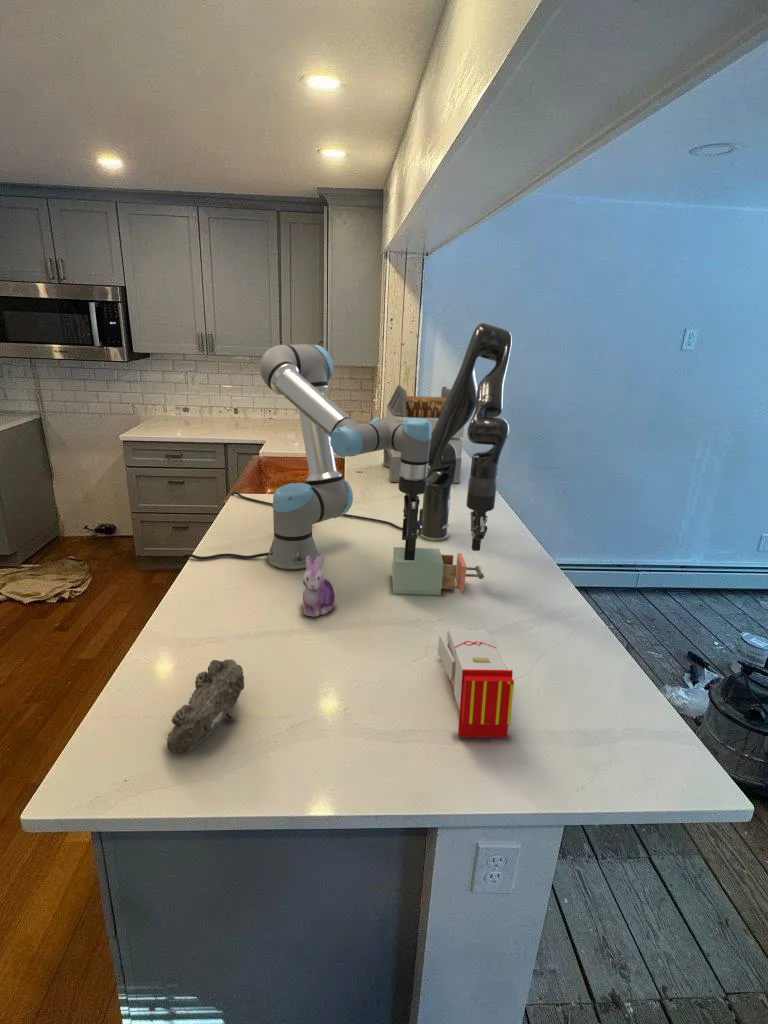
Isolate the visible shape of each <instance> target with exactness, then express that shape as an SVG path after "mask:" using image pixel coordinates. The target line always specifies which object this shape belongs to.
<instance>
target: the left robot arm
mask: <svg viewBox="0 0 768 1024" xmlns="http://www.w3.org/2000/svg"><path fill="white" fill-rule="evenodd" d="M259 370H260V376H261V377H262V381H263V382H264V383H265V385H266V386H267V387H268V388H269V389H270V390H272V392H273V393H275V394H276V395H280V396H281V395H282V396H283V397H284V398H285V399H287V400H288V401H289V402H290V403H291V404H292V405H293V406H295V408H297V410H298V413H299V418H300V420H299V421H300V426H301V431H302V438H303V443H304V449H305V455H306V462H307V467H308V476H307V477H306V478H305V482H295V483H293V482H290V483H287V484H283V485H281V486H279V487H278V488H276V490H274V492H273V496H272V497H273V498H272V503H273V504H272V505H271V506H272V513H273V514H272V517H273V519H272V520H273V538H272V542H271V545H270V547H269V551H268V552H262V553H256V554H250V555H243V554H237V553H227V552H226V553H217V554H213V555H205V556H200V555H199V556H198V555H196V554H194V553H193V554H192V553H185V554H182V556H181V557H180V559H185V558H188V557H189V558H192V559H196V560H200V561H202V560H212V559H217V558H224V557H225V558H226V557H232V558H238V559H245V560H246V559H247V560H248V559H255V558H261V557H268V563H269V564H270V565H271V566H272V567H274V568H277V569H281V570H288V571H289V570H291V571H293V570H296V571H297V570H303V569H306V557H307V556H308V555H310V556H311V558H312V560H313V562H315V561H316V560H317V558H318V557H319V550H318V549H317V545H316V543H315V540H314V537H313V525H316V524H318V523H321V522H324V521H328V520H331V519H336V518H339V517H342V516H341V515H343V514H348V512H349V511H350V509H351V507H352V505H353V501H354V494H353V489H352V487H351V485H350V483H349V482H348V481H347V480H346V479H343V473H341V472H340V471H338V470H337V465H336V464H337V463H336V459H335V458H336V457H335V455H337V456H338V457H341V458H344V457H345V458H346V457H356V456H359V455H363V454H367V453H373V452H378V451H384V449H391V450H395V451H398V452H401V460H400V473H399V474H400V476H401V477H400V478H399V482H398V491H399V492H401V493H402V494H405V495H404V496H403V512H402V513H403V520H402V528H403V530H401V531H402V532H401V540H402V541H405V545H404V548H405V555H404V560H414V559H415V548H417V547H416V546H417V545H416V544H417V539H418V530H417V521H418V520H419V506H420V497H419V495H423V493H425V492H426V489H427V479H428V473H429V472H428V470H427V469H430V466H428V463H429V451H430V443H431V438H432V436H431V423H430V422H429V421H428V420H426V419H420V418H407V419H405V420H404V422H403V424H402V423H398V422H394V421H390V420H387V419H386V418H381V417H376V418H375V417H374V418H372V419H371V420H370V421H369V422H368V423H362V424H359V423H358V422H357V421H355V420H354V419H353V418H352V417H350V416H349V415H348V414H347V413H346V412H345V411H344V410H342V409H341V408H340V407H339V406H338V405H337V404H335V403H334V402H333V401H332V400H330V398H329V397H327V396H326V395H325V393H326V391H327V390H328V388H329V381H330V380H331V379H332V377H333V373H334V363H333V360H332V357H331V355H330V353H329V352H328V351H327V350H326V349H325V348H324V346H321V345H319V344H311V343H304V344H303V343H301V344H278V345H274V346H272V347H270V348H269V349H267V350H266V351H265V353H263V355H262V357H261V360H260V364H259Z"/></svg>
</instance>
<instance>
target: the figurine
mask: <svg viewBox="0 0 768 1024" xmlns="http://www.w3.org/2000/svg"><path fill="white" fill-rule="evenodd" d="M324 560H325V556H324V554H319V555H318V558H317V560H316V561H315V562H313V560H312V558H311V556H310V555H308V556H307V557H306V568H305V572H304V573H303V576H302V584H303V586H304V589H303V591H302V603H303V604H302V609H303V615H305V616H307V617H319V616H324V615H326V614H328V613H329V612H331V611H332V610H333V609H334V606H335V605H334V604H335V597H336V595H335V590H334V589H335V588H334V586H333V585H332V583H331V582H330V581H329V580H328V579H327V578H325V574H324V572H323V570H322V568H323V564H324Z"/></svg>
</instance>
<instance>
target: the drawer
mask: <svg viewBox="0 0 768 1024" xmlns="http://www.w3.org/2000/svg"><path fill="white" fill-rule="evenodd" d="M441 556H442V559H443V563H444V566H443V577H442V588H441V590H442V589H444V590H445V589H446V590H455V587H456V584H457V587H458V591H459V592H462V593H463V592H465V585H466V584H465V583H466V578H467V577H468V578H478V579H479V580H483V579H484V578H485V574H484V573H483V570H482V567H481V566H480V565H476V566H475V567H468V566H467V564H466V561H465V558H464V556H463V553H462V552H458V553H457V556H456V564H454V554H441ZM467 571H475V572H476V573H467Z"/></svg>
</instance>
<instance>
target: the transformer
mask: <svg viewBox="0 0 768 1024" xmlns="http://www.w3.org/2000/svg"><path fill="white" fill-rule="evenodd" d="M450 391H451V388H447V386H442V387H441V392H440V393H441V394H440V396H415V395H414V396H413V395H412V396H411V395H407V394H408V393H407V390H406V389H404V388H403V387H402V385H399V384H398V385H397V386H396V388H395V390H394V392H393V394H392V395H391V398H390V400H389V402H388V404H387V405H386V413H385V414H386V415H385V419H387V420H390V421H394V422H398V423H402V424H403V422H404V420H405V419H407V418H420V419H426V420H428V421H429V422H430V423H431V433H432V432H433V430H434V428H435V426H436V423H437V421H438V419H439V417H440V415H441V412H442V410H443V407H444V405H445V402H446V400H447V397H448V395H449V393H450ZM464 429H465V425H464V426H463V427H462V428H461V429H460V430H459V431H458V432H457V433H456V434H455V435H454V436H453V437H452V438H451V440H450V441H449V442H448V443H450V444H452V445H453V446H454V448H455V450H456V455H457V461H456V469H455V476H454V482H453V484H455V483H456V484H459V483H461V472H462V461H463V460H462V453H463V442H464V441H463V440H462V439H463V438H464V431H465V430H464ZM400 460H401V452H398V451H395V450H391V449H383V466H384V467H388V468H389V475H388V476H389V477H388V478H389V480H390V482H391V483H399V478H400V477H401V476H400V474H399V473H400Z"/></svg>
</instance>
